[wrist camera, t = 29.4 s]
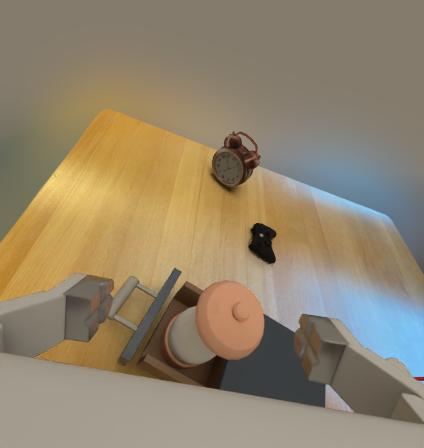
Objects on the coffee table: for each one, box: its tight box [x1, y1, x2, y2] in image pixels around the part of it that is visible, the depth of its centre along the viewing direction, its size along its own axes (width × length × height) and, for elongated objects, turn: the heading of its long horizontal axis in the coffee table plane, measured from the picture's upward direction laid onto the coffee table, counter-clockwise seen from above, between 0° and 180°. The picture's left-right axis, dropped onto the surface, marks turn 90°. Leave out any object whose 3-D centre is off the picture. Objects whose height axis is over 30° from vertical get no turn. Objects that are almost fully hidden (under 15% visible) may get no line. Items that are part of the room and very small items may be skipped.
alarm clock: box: [211, 132, 260, 191], centre depth 56 cm, size 11×5×15 cm, turn 50°
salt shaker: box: [160, 281, 264, 369], centre depth 26 cm, size 7×7×19 cm
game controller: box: [248, 223, 276, 263], centre depth 53 cm, size 10×5×7 cm
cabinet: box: [217, 314, 325, 408], centre depth 32 cm, size 15×14×10 cm
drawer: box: [107, 268, 226, 389], centre depth 31 cm, size 18×12×8 cm
